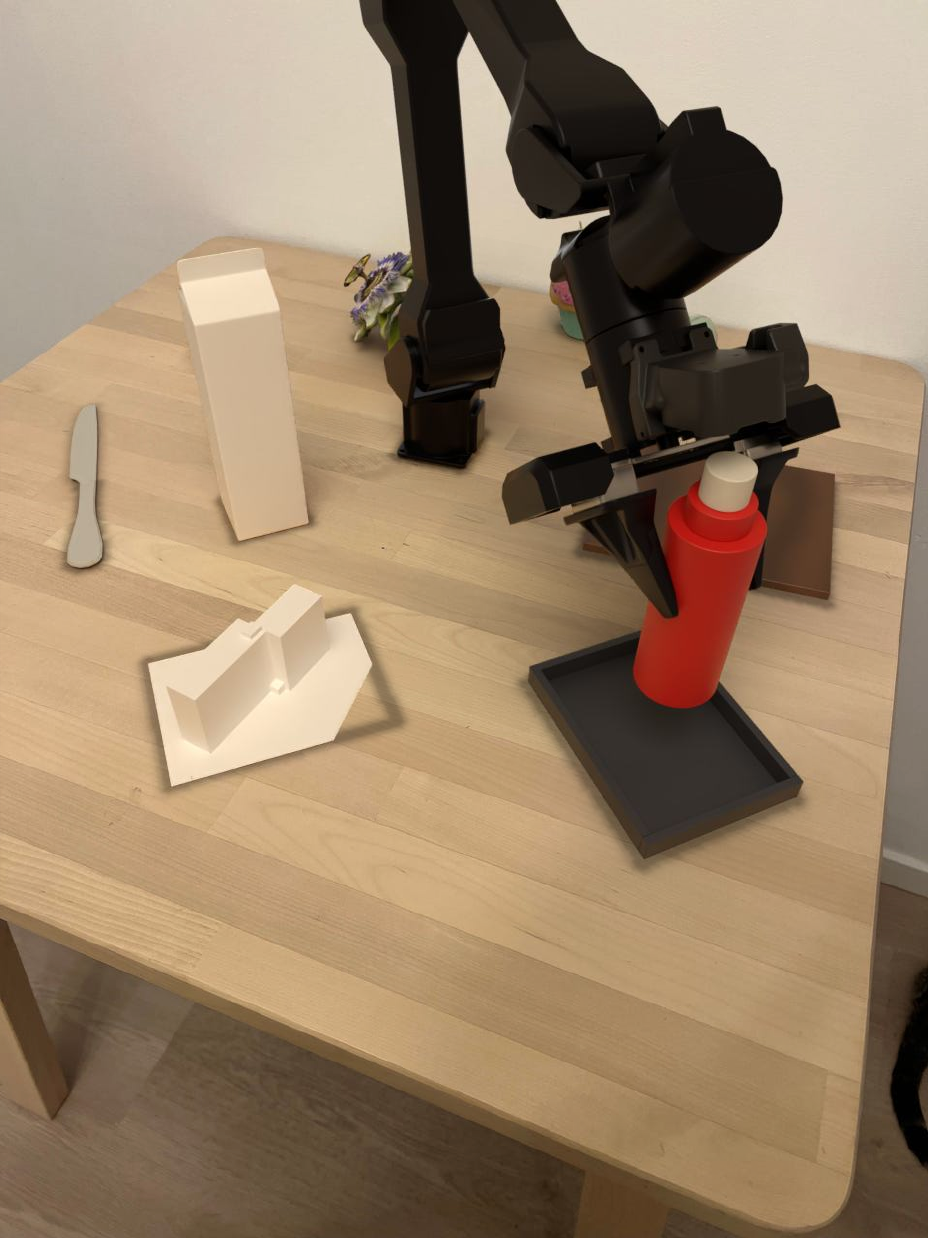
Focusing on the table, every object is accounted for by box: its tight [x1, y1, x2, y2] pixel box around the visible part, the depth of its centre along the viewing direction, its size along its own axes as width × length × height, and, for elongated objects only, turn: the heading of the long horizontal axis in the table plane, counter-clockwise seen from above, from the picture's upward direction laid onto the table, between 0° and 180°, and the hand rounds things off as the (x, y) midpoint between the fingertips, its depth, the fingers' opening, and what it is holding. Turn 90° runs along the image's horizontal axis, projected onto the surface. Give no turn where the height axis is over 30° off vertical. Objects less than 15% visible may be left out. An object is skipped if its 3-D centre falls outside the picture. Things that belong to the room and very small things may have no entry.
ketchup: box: [633, 451, 767, 708], centre depth 52 cm, size 5×5×16 cm
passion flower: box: [343, 249, 413, 352], centre depth 97 cm, size 11×11×12 cm
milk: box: [176, 247, 310, 542], centre depth 70 cm, size 6×6×22 cm
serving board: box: [582, 445, 836, 601], centre depth 78 cm, size 19×16×1 cm
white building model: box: [147, 583, 374, 787], centre depth 62 cm, size 15×11×6 cm
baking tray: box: [527, 629, 804, 860], centre depth 61 cm, size 15×11×2 cm
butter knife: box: [66, 403, 104, 569], centre depth 81 cm, size 1×24×3 cm
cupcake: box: [548, 220, 585, 341], centre depth 98 cm, size 9×8×12 cm
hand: (712, 603), depth 52 cm, fingers closed on ketchup, 5 cm apart
